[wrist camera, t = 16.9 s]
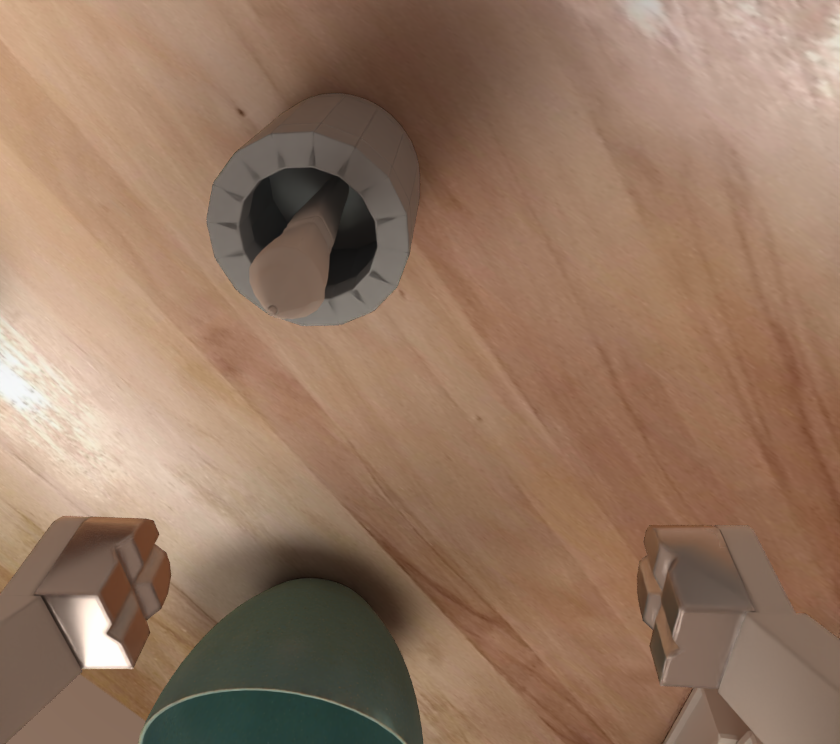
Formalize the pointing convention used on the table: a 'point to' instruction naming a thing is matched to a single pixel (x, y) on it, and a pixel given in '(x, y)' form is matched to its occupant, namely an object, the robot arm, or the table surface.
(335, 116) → the grey faceted canister
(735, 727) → the book stack
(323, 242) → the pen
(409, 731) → the green bowl
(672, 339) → the table surface
